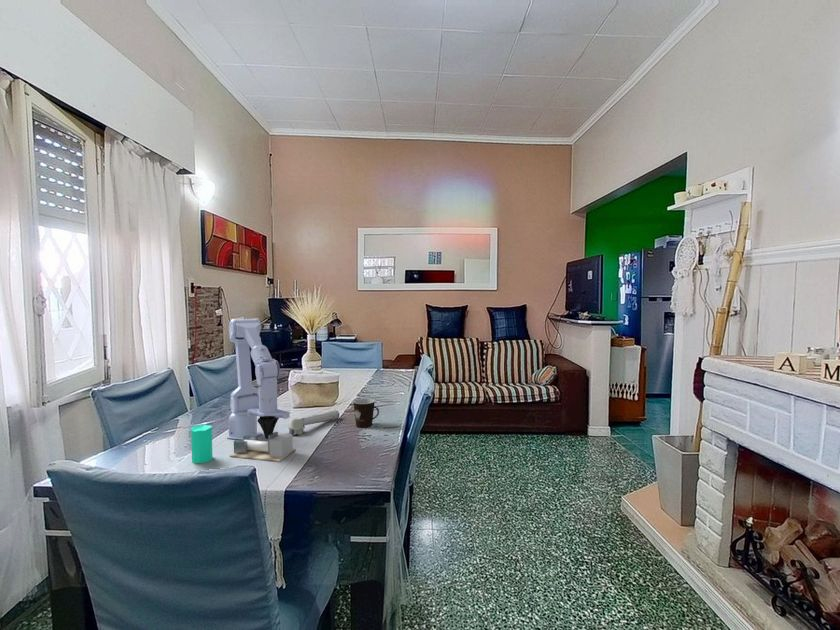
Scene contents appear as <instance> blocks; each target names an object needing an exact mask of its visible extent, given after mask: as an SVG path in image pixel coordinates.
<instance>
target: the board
mask: <svg viewBox="0 0 840 630" xmlns="http://www.w3.org/2000/svg"><path fill="white" fill-rule="evenodd" d="M296 449H297V448H293V451H294V452H295V451H296ZM293 451H292V452H290V453H291V454H293V453H294V452H293ZM290 453H289V454H290ZM289 454H287V455H286V456H287V457H288V456H290V455H291V454H290V455H289ZM286 456H284V457H283V458H275V457H270V454H268V452H263V451H253V450H248V453H247V454H240V453H234V452H233V453H231V454H230V455H229V458H236V459H237V458H239V459H248V460H255V461H256V460H257V461H265V462H275V463H280V462H281V461H282V460H284V459H286V458H287V457H286Z"/></svg>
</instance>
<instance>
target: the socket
mask: <svg viewBox="0 0 840 630" xmlns="http://www.w3.org/2000/svg"><path fill="white" fill-rule="evenodd" d="M269 443H270V457H275V458H283V457H284V456H286V455H287V454H289V453H290V452H292V451H293V449H294V448H293V447H294V446H293V435H290V434H289V433H286V434H285V433H278V436H276V437H274V438H272V439H271V440H269ZM292 453H293V452H292Z"/></svg>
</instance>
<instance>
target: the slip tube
mask: <svg viewBox="0 0 840 630" xmlns="http://www.w3.org/2000/svg"><path fill="white" fill-rule="evenodd" d="M278 435H279V431H273V433H272V434H270V435H268V439H267V441H266V440H265V441H264V440H257V441H255V440H244V441H247V443H248V450H253V451H263V452H268V454H270V443H269V440H271V439H272V438H274V437H276V436H278Z"/></svg>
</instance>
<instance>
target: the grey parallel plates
mask: <svg viewBox="0 0 840 630" xmlns="http://www.w3.org/2000/svg"><path fill="white" fill-rule="evenodd" d="M257 438H258V436H247V435H245V436H243V440H239V439H234V440H233V453H240V454H247V453H248V443H247V441H244V440H255V441H258V439H257Z"/></svg>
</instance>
